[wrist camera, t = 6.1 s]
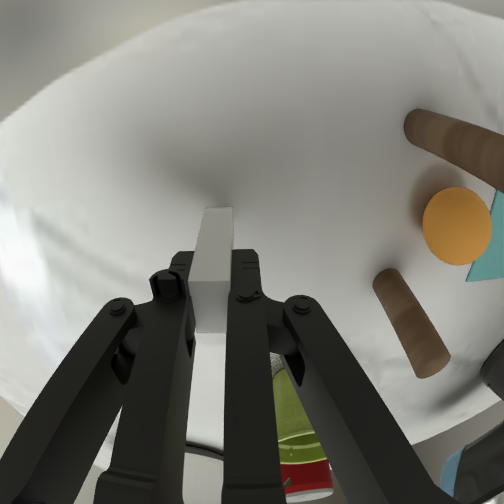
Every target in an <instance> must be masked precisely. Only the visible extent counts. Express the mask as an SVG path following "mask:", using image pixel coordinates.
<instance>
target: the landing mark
mask: <svg viewBox="0 0 504 504" xmlns="http://www.w3.org/2000/svg"><path fill="white" fill-rule="evenodd" d="M490 217H491V222H492V233H491V238H490V242H489V244H488V246H487V248H486V250H485V251H484V252H483V254H482V255H481V256H480V257H479V258H478V259H476V260H475V261H474V262H473V264H472V267H471V269H470V272H469V274H468V277H467V279H466V282H471V281H479V280H487V279H495V278H502V277H504V194H503V193H502V192H500V191H498V190H496V194H495V198H494V202H493V205H492V209H491V212H490Z"/></svg>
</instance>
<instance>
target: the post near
mask: <svg viewBox="0 0 504 504" xmlns="http://www.w3.org/2000/svg"><path fill="white" fill-rule="evenodd" d="M404 131H405V135H406V137H407V139H408V140H409V141H410V142H411V143H412V144H414V145H416V146H418V147H420V148H422V149H424V150H426V151H428V152H431V153H433V154H435V155H437V156H439V157H441V158H443V159H445V160H446V161H448V162H450V163H452V164H454V165H456V166H458V167H460V168H461V169H463V170H465V171H467V172H469V173H470V174H472V175H474V176H476V177H477V178H479V179H481V180H482V181H484V182H486V183H487V184H489V185H491V186H492V187H494V188H495V189H497V190H498V191H500V192H502V193H503V194H504V135H501V134H499V133H496V132H493V131H491V130H488V129H485V128H482V127H480V126H477V125H474V124H471V123H468V122H465V121H461V120H458V119H455V118H452V117H448V116H445V115H441V114H437V113H434V112H430V111H426V110H422V109H416V110H413V111H411V112H410V113H409V114H408V115H407V117H406V119H405V123H404Z"/></svg>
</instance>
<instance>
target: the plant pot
mask: <svg viewBox="0 0 504 504" xmlns="http://www.w3.org/2000/svg"><path fill="white" fill-rule="evenodd" d="M273 392H274V402H275V413H276V423H277V434H278V445H279V455H280V463H281V464H302V463H310V462H316V461H320V460H325V459H327V457H326V455H325V453H324V451H323V449H322V447H321V445H320V442H319V440H318V438H317V436H316V434H315V432H314V430H313V428H312V425H311V423H310V421H309V419H308V417H307V415H306V413H305V410H304V408H303V406H302V404H301V402H300V400H299V398H298V395H297V393H296V391H295V389H294V387H293V385H292V382H291V380H290V378H289V376H288V374H287V371H286V369H285V368H284V369H282V370H281V371H279V372H278V373H277V374H276V375H275V377H274V379H273Z"/></svg>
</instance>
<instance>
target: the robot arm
mask: <svg viewBox="0 0 504 504" xmlns="http://www.w3.org/2000/svg"><path fill="white" fill-rule="evenodd" d="M149 281H150V285H151V289H152V293H153V300H152V301H150V302H147V303H143V304H139V305H134V304H133V302H132V301H131V300H130V299H128V298H121V297H120V298H116V299H113V300H111V301H109V302H108V303H107V304H105V305H104V307H103V308H102V309H101V310H100V312H99V313H98V314H97V315H96V317H95V318H94V319H93V321H92V322H91V323H90V324H89V326H88V327H87V328H86V330H85V331H84V332H83V334H82V335H81V336H80V338H79V339H78V340H77V342H76V343H75V344H74V346H73V347H72V348H71V350H70V351H69V352H68V354H67V355H66V357H65V358H64V359H63V361H62V362H61V364H60V365H59V366H58V368H57V369H56V371H55V372H54V374H53V375H52V377H51V378H50V379H49V381H48V382H47V384H46V385H45V387H44V388H43V390H42V391H41V393H40V394H39V396H38V397H37V399H36V400H35V402H34V404H33V405H32V407H31V408H30V410H29V411H28V413H27V415H26V416H25V418H24V420H23V421H22V423H21V424H20V426H19V428H18V429H17V431H16V433H15V434H14V436H13V438H12V440H11V441H10V443H9V445H8V447H7V448H6V450H5V452H4V454H3V456H2V458H1V459H0V504H73V503H74V501H75V500H76V497H77V496H78V493H79V491H80V489H81V487H82V485H83V482H84V481H85V479H86V477H87V475H88V472H89V470H90V468H91V466H92V464H93V462H94V460H95V458H96V456H97V454H98V452H99V450H100V448H101V446H102V444H103V442H104V440H105V438H106V436H107V434H108V432H109V430H110V428H111V426H112V424H113V422H114V420H115V418H116V417H117V415H118V413H119V411H120V409H121V407H122V410H121V414H120V419H119V423H118V428H117V432H116V437H115V442H114V447H113V452H112V457H111V463H110V466H109V468H108V470H106V471H104V472H103V473H101V475H100V476H99V478H98V480H97V484H96V489H95V495H94V502H93V504H184V501H183V495H182V490H183V473H184V458H185V445H186V432H187V421H188V410H189V400H190V390H191V380H192V371H193V362H194V354H195V346H196V341H195V335H194V332H195V326H196V331H197V333H226V361H225V396H224V453H223V486H222V492H221V504H287V502H286V494H285V489H284V485H283V483H282V477H281V466H280V455H279V445H278V434H277V423H276V413H275V402H274V392H273V382H272V371H271V361H270V352H272V353H276V354H279V355H280V358H281V360H282V363H283V365H284V367H285V369H286V371H287V374H288V376H289V378H290V380H291V382H292V385H293V387H294V389H295V391H296V393H297V395H298V398H299V400H300V402H301V404H302V406H303V408H304V410H305V413H306V415H307V417H308V419H309V421H310V423H311V425H312V428H313V430H314V432H315V434H316V436H317V438H318V440H319V442H320V445H321V447H322V449H323V451H324V453H325V455H326V457H327V459H328V461H329V463H330V466H331V468H332V470H333V472H334V473H335V476H336V478H337V480H338V482H339V484H340V486H341V488H342V490H343V492H344V494H345V496H346V498H347V501H348V503H349V504H504V420H503V421H502V422H500V423H499V424H498V425H496V426H495V427H494V428H493V429H491V430H489V431H488V432H487V433H485V434H484V435H482V436H481V437H479V438H478V439H476V440H475V441H473V442H471V443H470V444H468V445H465V446H464V447H463V448H462V449H460V450H459V451H457V452H456V453H454V454H453V455H451V456H450V457H449V458H448V459H447V460H446V461H445V463H444V465H443V469H442V472H441V489H440V488H439V487H437V486H436V485H435V484H434V483H433V481H432V480H431V478H430V476H429V475H428V473H427V471H426V470H425V468H424V466H423V464H422V463H421V461H420V459H419V458H418V456H417V454H416V453H415V451H414V450H413V448H412V446H411V445H410V443H409V441H408V440H407V438H406V437H405V435H404V433H403V432H402V430H401V428H400V427H399V425H398V424H397V422H396V420H395V419H394V417H393V416H392V414H391V413H390V411H389V409H388V408H387V406H386V405H385V403H384V401H383V400H382V398H381V397H380V395H379V394H378V392H377V391H376V389H375V387H374V386H373V384H372V383H371V381H370V380H369V378H368V377H367V375H366V374H365V372H364V370H363V369H362V367H361V366H360V364H359V363H358V361H357V360H356V358H355V357H354V355H353V354H352V352H351V351H350V349H349V348H348V346H347V345H346V343H345V342H344V340H343V339H342V337H341V336H340V334H339V333H338V331H337V330H336V328H335V327H334V325H333V324H332V322H331V321H330V319H329V318H328V316H327V315H326V313H325V312H324V310H323V309H322V307H321V306H320V304H319V303H318V302H317V301H316V300H315V299H313V298H311V297H309V296H305V295H295V296H292V297H290V298H288V299H287V300H286V301H285V303H284V302H278V301H275V300H272V299H270V298H268V297H267V296H266V295H265V294H264V293H263V291H262V287H261V277H260V267H259V258H258V254H257V253H256V252H255V251H254V250H253V249H236V250H234V227H233V207H216V208H205V212H204V216H203V220H202V224H201V228H200V232H199V236H198V240H197V244H196V248H195V251H179V252H178V253H177V254H176V255H175V256H174V257H173V258H172V261H171V264H170V267H169V269H165V270H161V271H158V272H156V273H155V274H153V275H152V276H151V278H150V279H149ZM480 376H481V378H482V380H483V381H484V383H485V385H486V386H487V387H489V388H490V389H491V390H492V391H493V392H494V393H495V394H496V395H498V396H499V397H500V398H501V399H502V400H503V401H504V341H503V342H502V343H501V344H500V345H499V346H498V347H497V348H496V349H495V351H494V352H493V353H492V354H491V355H490V357H489V358H488V359H487V361H486V362H485V364H484V366H483V367H482V369H481V372H480ZM122 405H123V406H122Z"/></svg>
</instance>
